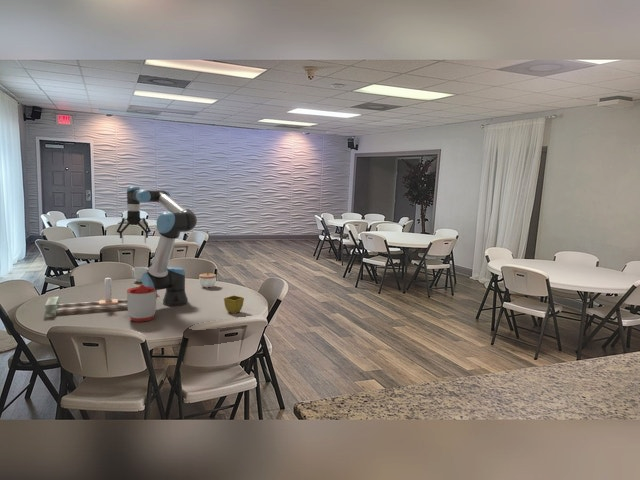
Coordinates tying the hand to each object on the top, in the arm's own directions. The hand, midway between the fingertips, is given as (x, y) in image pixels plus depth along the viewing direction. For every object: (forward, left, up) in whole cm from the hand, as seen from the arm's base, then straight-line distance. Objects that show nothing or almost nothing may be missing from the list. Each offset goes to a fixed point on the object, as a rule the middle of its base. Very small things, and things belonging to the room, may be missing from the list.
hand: (134, 243), depth 280 cm
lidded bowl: (-20, -50, -37) cm, 65 cm away
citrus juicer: (-38, +29, -37) cm, 60 cm away
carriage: (-5, +25, -35) cm, 43 cm away
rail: (0, +31, -37) cm, 48 cm away
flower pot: (-73, -8, -37) cm, 82 cm away
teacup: (+32, -37, -37) cm, 61 cm away
